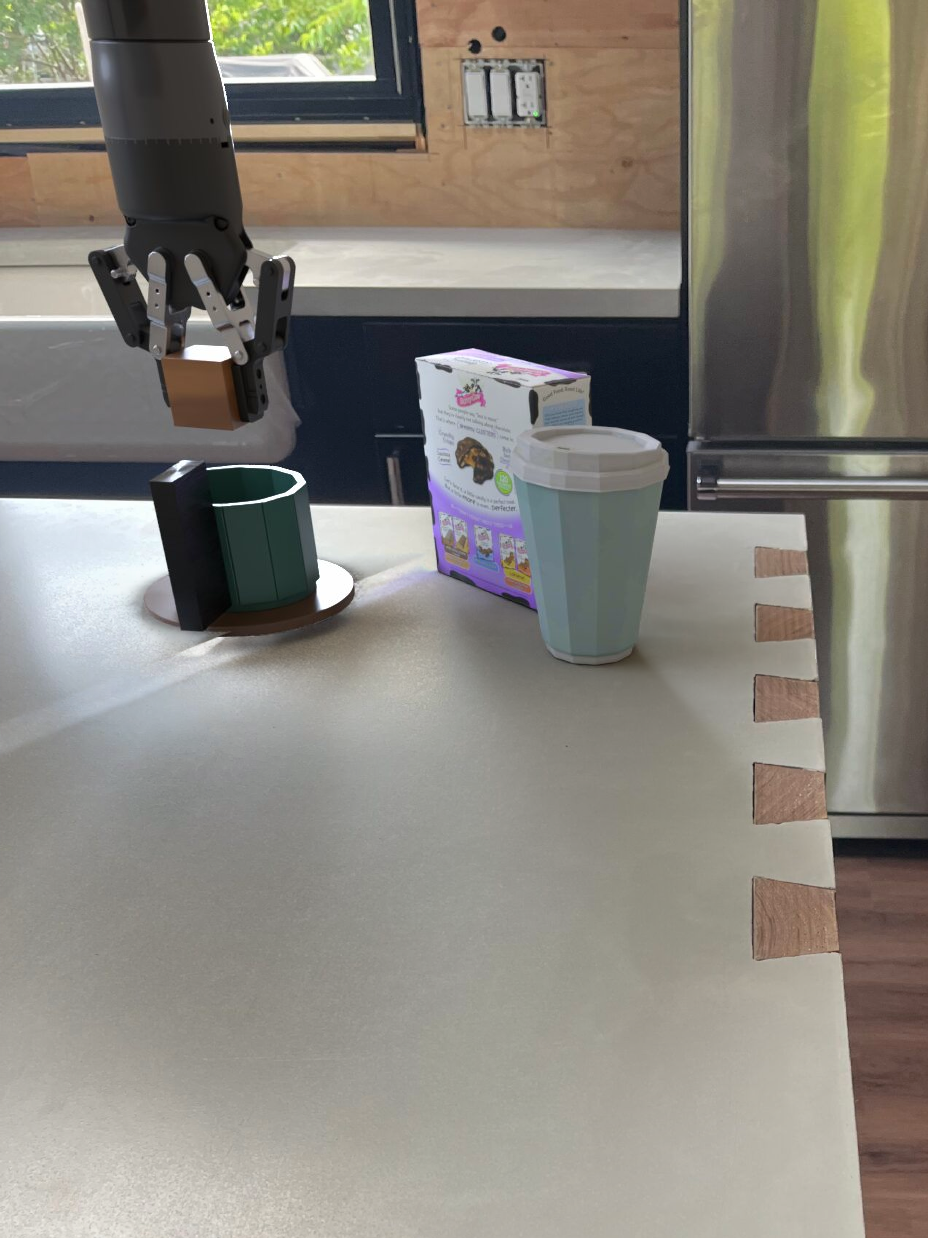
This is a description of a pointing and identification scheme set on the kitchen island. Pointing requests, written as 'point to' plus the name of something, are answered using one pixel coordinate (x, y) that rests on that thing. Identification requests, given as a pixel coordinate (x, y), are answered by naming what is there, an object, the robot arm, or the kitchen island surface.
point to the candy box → (487, 457)
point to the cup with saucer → (240, 552)
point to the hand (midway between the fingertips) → (219, 416)
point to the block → (202, 388)
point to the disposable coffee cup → (589, 533)
